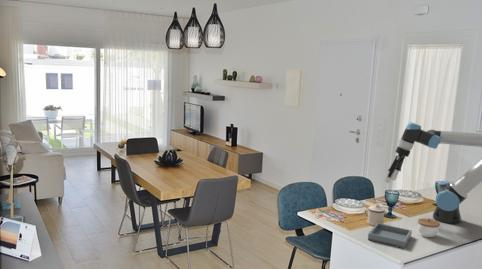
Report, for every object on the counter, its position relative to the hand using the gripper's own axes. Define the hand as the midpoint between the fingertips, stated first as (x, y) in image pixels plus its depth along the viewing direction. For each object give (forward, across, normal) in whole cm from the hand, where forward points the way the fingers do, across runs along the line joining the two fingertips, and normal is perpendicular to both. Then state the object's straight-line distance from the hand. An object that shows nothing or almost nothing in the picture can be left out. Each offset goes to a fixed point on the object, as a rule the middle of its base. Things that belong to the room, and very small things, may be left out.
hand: (389, 181), depth 246 cm
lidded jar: (+16, +14, +31) cm, 37 cm away
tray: (+22, +30, +16) cm, 41 cm away
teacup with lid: (+24, +13, +3) cm, 28 cm away
